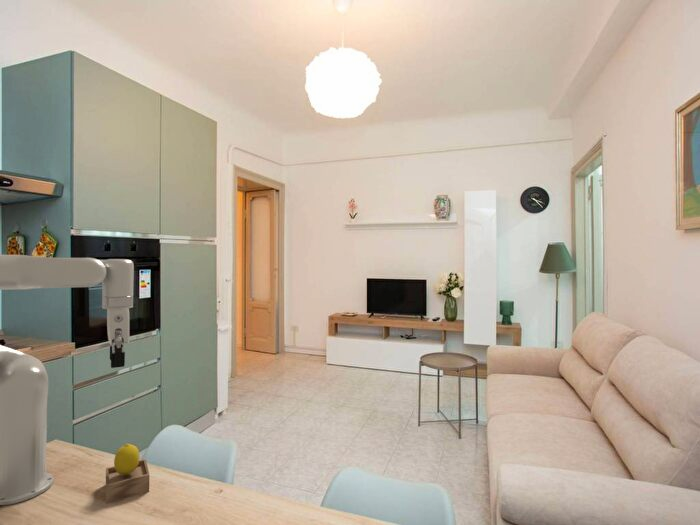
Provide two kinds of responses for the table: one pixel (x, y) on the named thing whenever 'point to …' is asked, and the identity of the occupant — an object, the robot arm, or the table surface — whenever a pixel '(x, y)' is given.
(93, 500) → the table surface
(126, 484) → the walnut tray
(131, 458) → the lemon
